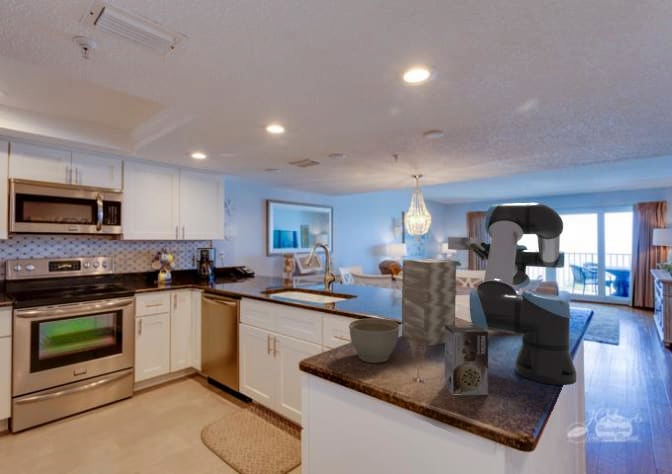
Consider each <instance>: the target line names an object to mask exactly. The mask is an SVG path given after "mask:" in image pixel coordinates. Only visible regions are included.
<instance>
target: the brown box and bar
mask: <svg viewBox="0 0 672 474" xmlns="http://www.w3.org/2000/svg"><path fill="white" fill-rule="evenodd" d="M470 237H471V236H470ZM470 237H467V236H466V237H461V236H459V237H458V236H457V237H456V236H448V237H447V250H453V251H454V250H455V251H473V250H482V249H481V248H480V247H478V246H477V245H476V244H475V243H470ZM484 243H485V244H486V245H488V244H489V243H486V242H484Z"/></svg>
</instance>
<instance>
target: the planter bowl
mask: <svg viewBox="0 0 672 474" xmlns="http://www.w3.org/2000/svg"><path fill="white" fill-rule="evenodd" d="M400 326H401V325H400V324H399V323H398V322H396V321H392V320H388V319H380V318H362V319H361V318H360V319H356V320H353V321H351V322H349V323H348V328H349V336H350V341H351V344H352V346H353V348H354V350H355V351H356V352H357V354H358V358H359V359H360V360H361V361H363V362H366V363H373V364H378V363H384V362H385V363H386V362H388V361H389V360H390V355H391V354H392V353H393V351H394V350H395V347H396V346H397V343H398V339H399V331H400Z"/></svg>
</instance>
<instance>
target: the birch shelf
mask: <svg viewBox="0 0 672 474" xmlns="http://www.w3.org/2000/svg"><path fill="white" fill-rule="evenodd" d="M460 265H461V261H459V260H448V259H438V258H424V259H423V258H422V259H419V258H418V259H402V290H401V291H402V295H401V296H402V297H401V300H402V301H401V337H404V338H406V339H408V340H410V341H412V342H415V343H416V344H417V343H418V344H420V345H422V346H425V347H430V346H436V345H441V344H445V325H456V296H457V295H456V293H457V291H456V288H457V287H456V286H457V285H456V284H457V266H460Z"/></svg>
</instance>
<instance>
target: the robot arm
mask: <svg viewBox="0 0 672 474" xmlns="http://www.w3.org/2000/svg"><path fill="white" fill-rule="evenodd" d="M484 228H485V233H487V235H488V236H489V237H490V238H491V240H490V243H487V244H488V245H486V244H485V243H486V242H484V241H483V239H481V238H479V237H478V236H476V237H475V238H473V237H472V236H470V243H475V244H476V245H477V246H478V247H480V248H481V249H482V250H472V252H473V253H474V254H476V256H478V258H479V259H480V260H481V261H482V262H483V261H487V263H486V266H485V267H486V268H485V274H484V279H483V281H482V282H480V283H478V286H477V289H474V290H471V291H470V293H469V298H468V299H469V304H468V305H469V316H470V320H471V325H479V326H480V327H482V328H484V330H486V331H494V332H500V333H509V334H514V335H515V334H516V335H521V337H522V338H521V339H522V340H521V342H522V343H521V345H520V349H519V351H518V353H517V356H516V358H515V361H514V362H515V363H514V364H515V365H514V369H515V372H516V373H517V374H518V375H520V376H522V377H524V378H526V379H528V380H532V381H535V382H538V383H541V384H546V383H547V385H555V386H570V385H573V384H575V383H576V382H577V371H576V368H575V364H574V362H573V358H572V356H571V353H570V319H571V317H572V315H571V311H570V310H571V309H570V308H571V307H570V303H569V301H568V300H567V299H565V298H564V297H562V296H559V295H555V294H552V293H548V292H543V291H537V290H527V289H526V290H523V292H522V294H517V290H516V289H515V288H517V289H524V288H526V287H527V286H528V285H530V282H531V281H530V277H529V275H528V273H527V267H534V268H549V269H550V268H553V269H557V268H558V269H561V268H564V267H565V252H564V251H561V250H560V241H561V240H560V239H561V234H562V233H563V230H564V221H563V219H562V217H561V216H560V215H559V213H558V212H557V211H555V210H554V209H553V208H552V207H550V206H548V205H546V204H542V203H539V202H522V203H521V202H519V203H518V202H517V203H497V204H496V203H495V204H492V205H490V206H489V207H488V209H487V211H486V213H485V221H484ZM524 235H536V236H537V244H538V245H537V246H538V248H537V249H536V250H535V249H534V250H533V249H528V247H527V246H526V245H523V244H520V243H519V244H518V242H519V241H520V240H521V239H522V238H523V236H524Z"/></svg>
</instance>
